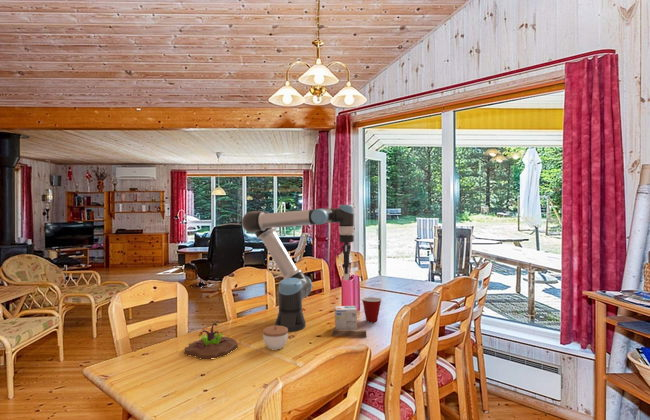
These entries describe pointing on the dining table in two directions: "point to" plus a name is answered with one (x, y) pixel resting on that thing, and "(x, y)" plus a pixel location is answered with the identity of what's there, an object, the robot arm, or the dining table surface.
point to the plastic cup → (371, 308)
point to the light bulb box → (346, 317)
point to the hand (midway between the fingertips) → (346, 278)
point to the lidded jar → (275, 337)
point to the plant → (211, 345)
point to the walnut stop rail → (349, 333)
